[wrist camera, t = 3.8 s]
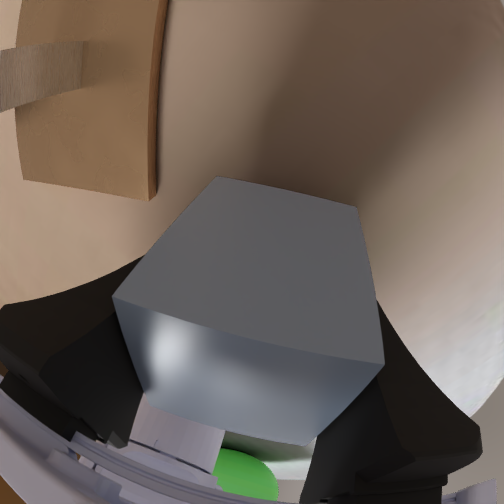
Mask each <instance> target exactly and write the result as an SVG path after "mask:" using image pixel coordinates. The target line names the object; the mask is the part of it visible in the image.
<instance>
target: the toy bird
mask: <svg viewBox="0 0 504 504" xmlns="http://www.w3.org/2000/svg"><path fill="white" fill-rule="evenodd" d="M212 475H213V476H216V477H218V480H217V483H216V485H219V486H221V487H222V489H223V491H225V492H229V493H233V494H238V495H243V496H248V497H253V498H258V499H264V500H271V501H277V498H278V484H277V480H276V478H275V476H274V474H273V473H272V471H271V470H270V469H269V468H268V467H267V466H266V465H265V464H264V463H262V462H261V461H260V460H258V459H256V458H254V457H252V456H250V455H248V454H245V453H242V452H239V451H235V450H231V449H225V448H220V451H219V454H218V457H217V460H216V463H215V467H214V470H213V473H212Z"/></svg>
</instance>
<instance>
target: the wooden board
mask: <svg viewBox="0 0 504 504" xmlns="http://www.w3.org/2000/svg"><path fill="white" fill-rule="evenodd" d="M167 6H168V0H22V5H21V10H20V16H19V23H18V30H17V39H16V48H11V49H5V50H1V51H0V113H1V112H4V111H6V110H9V109H12V108H15V120H16V132H17V141H18V150H19V157H20V163H21V170H22V175H23V179H24V180H30V181H36V182H43V183H49V184H55V185H61V186H67V187H73V188H79V189H85V190H90V191H96V192H102V193H107V194H113V195H118V196H123V197H129V198H134V199H139V200H144V201H150V200H151V199H152V198H153V197H154V196H156V125H157V102H158V86H159V73H160V61H161V51H162V42H163V34H164V26H165V19H166V12H167Z"/></svg>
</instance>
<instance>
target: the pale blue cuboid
mask: <svg viewBox="0 0 504 504" xmlns="http://www.w3.org/2000/svg"><path fill="white" fill-rule="evenodd" d="M112 299H113V302H114V306H115V310H116V313H117V316H118V320H119V323H120V326H121V330H122V333H123V336H124V339H125V342H126V345H127V348H128V351H129V354H130V357H131V359H132V362H133V365H134V368H135V370H136V373H137V376H138V378H139V381H140V383H141V386H142V388H143V391H144V393H145V395H146V398H147V400H148V403H149V405H150V406H152V407H155V408H157V409H160V410H163V411H165V412H168V413H171V414H174V415H177V416H179V417H182V418H185V419H188V420H191V421H195V422H198V423H201V424H204V425H208V426H211V427H215V428H218V429H222V430H226V431H230V432H233V433H237V434H242V435H246V436H250V437H255V438H260V439H264V440H270V441H275V442H281V443H286V444H293V445H299V446H306V445H307V444H309V443H310V442H311V441H312V440H313V439H314V438H315V437H316V436H318V435H319V434H320V433H321V432H322V431H323V430H324V429H325V428H326V427H327V426H328V425H329V424H330V423H331V422H332V421H333V420H335V419H336V418H337V417H338V416H339V415H340V414H341V413H342V412H343V411H344V410H345V409H346V408H347V406H348V405H349V404H350V403H351V402H352V401H353V400H354V399H355V398H356V397H357V396H358V395H359V394H360V393H361V392H362V391H363V389H364V388H365V387H366V386H367V385H368V384H369V383H370V382H371V380H372V379H373V378H374V377H375V376H376V375H377V373H378V372H379V371H380V370H381V369H382V368H383V366H384V365H385V360H384V351H383V342H382V334H381V327H380V319H379V313H378V306H377V300H376V294H375V289H374V283H373V278H372V273H371V267H370V263H369V258H368V253H367V248H366V244H365V240H364V235H363V231H362V227H361V223H360V219H359V215H358V211H357V207H354V206H351V205H347V204H343V203H339V202H335V201H331V200H327V199H323V198H319V197H315V196H311V195H307V194H302V193H298V192H294V191H289V190H285V189H280V188H276V187H271V186H266V185H262V184H257V183H252V182H247V181H242V180H236V179H231V178H226V177H220V176H216V177H215V178H214V179H213V180H212V181H211V182H210V183H209V185H208V186H207V187H206V188H205V189H204V190H203V191H202V192H201V193H200V194H199V195H198V196H197V197H196V198H195V199H194V200H193V201H192V203H191V204H190V205H189V206H188V207H187V208H186V209H185V210H184V211H183V212H182V213H181V215H180V216H179V217H178V218H177V219H176V220H175V221H174V222H173V223H172V225H171V226H170V227H169V228H168V229H167V230H166V231H165V232H164V234H163V235H162V236H161V237H160V238H159V239H158V240H157V242H156V243H155V244H154V245H153V246H152V247H151V249H150V250H149V251H148V252H147V253H146V255H145V256H144V257H143V258H142V259H141V260H140V262H139V263H138V264H137V265H136V267H135V268H134V269H133V270H132V271H131V273H130V274H129V275H128V276H127V278H126V279H125V280H124V281H123V283H122V284H121V285H120V286H119V288H118V289H117V290H116V291H115V293H114V294H113V295H112Z"/></svg>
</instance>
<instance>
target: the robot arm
mask: <svg viewBox="0 0 504 504" xmlns="http://www.w3.org/2000/svg"><path fill="white" fill-rule="evenodd" d="M145 255H146V254H145ZM145 255H144V256H145ZM144 256H142V257H140V258H138V259H136V260H134V261H133V262H131V263H129V264H127V265H125V266H123V267H121V268H120V269H118V270H116V271H114V272H112V273H109V274H107V275H105V276H103V277H100V278H98V279H96V280H94V281H91V282H89V283H86V284H83V285H80V286H78V287H75V288H72V289H69V290H67V291H64V292H60V293H57V294H54V295H50V296H46V297H42V298H38V299H34V300H29V301H24V302H18V303H13V304H6V305H4V306H3V307H2V308H1V309H0V360H1V362H2V363H3V364H4V365H5V366H6V368H7V369H8V370H9V371H8V372H7V374H6V375H5V377H2V376H1V375H0V475H1V476H2V477H3V478H4V480H5V481H6V482H7V483H8V484H9V485H10V486H11V487H12V489H13V490H14V491H15V492H16V493H17V494H18V495H19V496H20V497H21V498H22V499H23V500H24V501H25V502H26V503H27V504H295V503H286V502H278V501H271V500H264V499H258V498H253V497H248V496H243V495H238V494H233V493H229V492H225V491H223V489H222V487H221V486H219V485H216V483H217V480H218V477H216V476H213V475H212V473H213V470H214V467H215V463H216V460H217V457H218V454H219V451H220V447H221V444H222V441H223V438H224V434H225V431H226V430H222V429H218V428H215V427H211V426H208V425H204V424H201V423H198V422H195V421H191V420H188V419H185V418H182V417H179V416H177V415H174V414H171V413H168V412H165V411H163V410H160V409H157V408H155V407H152V406H150V405H149V403H148V400H147V398H146V395H145V393H144V391H143V388H142V386H141V383H140V381H139V378H138V376H137V373H136V370H135V368H134V365H133V362H132V359H131V357H130V354H129V351H128V348H127V345H126V342H125V339H124V336H123V333H122V330H121V326H120V323H119V320H118V316H117V313H116V310H115V306H114V302H113V299H112V295H113V294H114V293H115V291H116V290H117V289H118V288H119V286H120V285H121V284H122V283H123V281H124V280H125V279H126V278H127V276H128V275H129V274H130V273H131V271H132V270H133V269H134V268H135V267H136V265H137V264H138V263H139V262H140V260H141V259H142V258H143V257H144ZM376 300H377V299H376ZM377 306H378V313H379V319H380V327H381V334H382V342H383V351H384V360H385V365H384V366H383V368H382V369H381V370H380V371H379V372H378V373H377V375H376V376H375V377H374V378H373V379H372V380H371V382H370V383H369V384H368V385H367V386H366V387H365V388H364V389H363V391H362V392H361V393H360V394H359V395H358V396H357V397H356V398H355V399H354V400H353V401H352V402H351V403H350V404H349V405H348V406H347V408H346V409H345V410H344V411H343V412H342V413H341V414H340V415H339V416H338V417H337V418H336V419H335V420H333V421H332V422H331V423H330V424H329V425H328V426H327V427H326V428H325V429H324V430H323V431H322V432H321V433H320V434H319V435H318V436H317V440H316V444H315V448H314V453H313V456H312V460H311V464H310V468H309V471H308V474H307V478H306V481H305V484H304V487H303V490H302V493H301V496H300V501H299V504H496V503H497V501H496V500H497V495H496V479H495V478H493V479H491V480H487V481H484V482H481V483H478V484H475V485H472V486H469V487H467V488H464V489H462V490H459V491H458V492H455V493H451V494H447V495H443V496H442V486H445V485H446V484H447V483H448V474H450V473H452V472H455V471H456V470H458V469H461V468H463V467H465V466H467V465H469V464H470V463H472V462H474V461H475V460H477V459H478V458H479V457H480V456H481V454H482V452H483V450H482V441H481V433H480V427H479V426H478V425H477V424H476V423H475V422H474V421H473V420H472V419H470V418H469V417H468V416H467V415H466V414H465V413H463V412H462V411H461V410H460V409H459V408H458V407H457V406H456V405H455V404H454V403H453V402H452V401H451V400H450V399H449V398H448V397H447V396H446V395H445V394H444V393H443V392H442V391H441V390H440V389H439V388H438V387H437V386H436V384H435V383H434V382H433V381H432V380H431V379H430V377H429V376H428V375H427V374H426V373H425V372H424V370H423V369H422V368H421V367H420V365H419V364H418V363H417V361H416V360H415V359H414V357H413V356H412V355H411V353H410V352H409V351H408V349H407V348H406V346H405V345H404V343H403V342H402V340H401V339H400V337H399V336H398V334H397V333H396V331H395V330H394V328H393V326H392V325H391V323H390V322H389V320H388V318H387V317H386V315H385V313H384V312H383V310H382V308H381V306H380V305H379V303H378V301H377ZM74 451H75V452H76V453H78V454H80V455H81V457H80V459H79V461H78V460H77V455H76V453H75V452H74Z"/></svg>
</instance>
